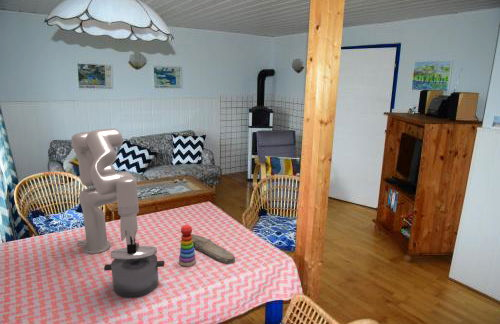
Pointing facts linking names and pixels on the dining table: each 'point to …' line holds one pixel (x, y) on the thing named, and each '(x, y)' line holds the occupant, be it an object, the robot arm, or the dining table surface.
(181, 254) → the stacking toy
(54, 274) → the dining table surface
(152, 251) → the cooker lid
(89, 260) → the dining table surface
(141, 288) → the cooker pot
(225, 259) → the elongated rock
